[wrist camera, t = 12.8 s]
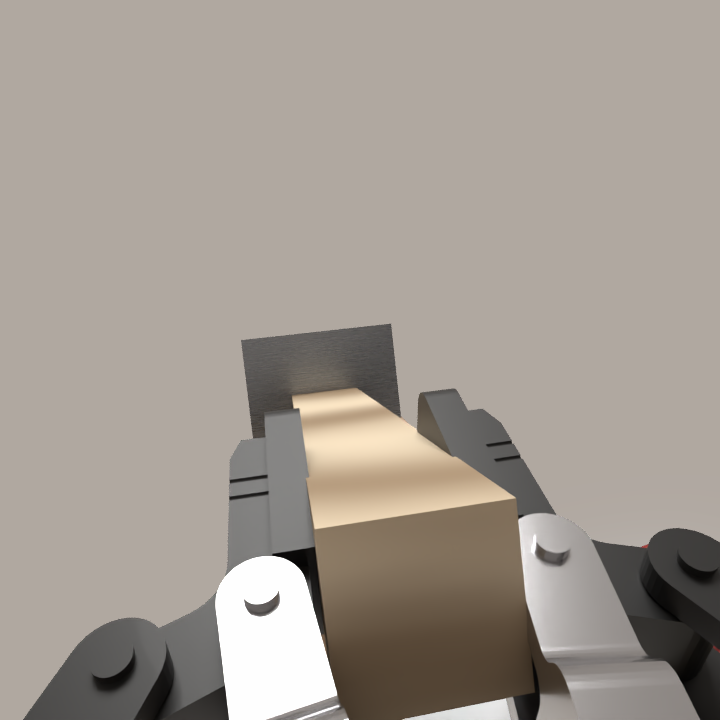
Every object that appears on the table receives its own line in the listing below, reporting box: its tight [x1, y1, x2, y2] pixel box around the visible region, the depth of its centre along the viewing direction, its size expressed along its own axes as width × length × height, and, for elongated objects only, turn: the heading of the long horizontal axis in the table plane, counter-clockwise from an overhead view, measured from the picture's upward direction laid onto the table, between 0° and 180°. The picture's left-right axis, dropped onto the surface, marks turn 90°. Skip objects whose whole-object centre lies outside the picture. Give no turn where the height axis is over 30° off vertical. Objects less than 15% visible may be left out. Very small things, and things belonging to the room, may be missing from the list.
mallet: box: [241, 324, 535, 720], centre depth 18 cm, size 22×6×5 cm, turn 8°
